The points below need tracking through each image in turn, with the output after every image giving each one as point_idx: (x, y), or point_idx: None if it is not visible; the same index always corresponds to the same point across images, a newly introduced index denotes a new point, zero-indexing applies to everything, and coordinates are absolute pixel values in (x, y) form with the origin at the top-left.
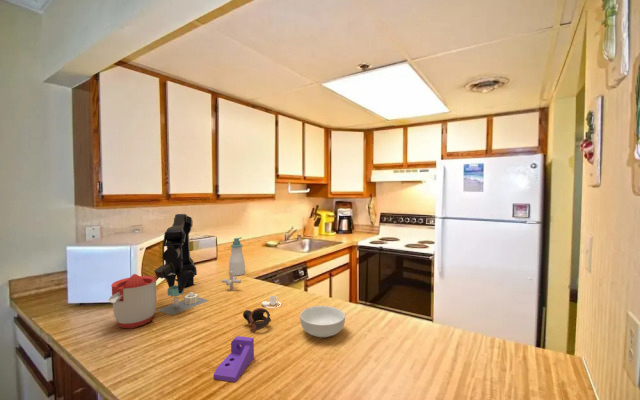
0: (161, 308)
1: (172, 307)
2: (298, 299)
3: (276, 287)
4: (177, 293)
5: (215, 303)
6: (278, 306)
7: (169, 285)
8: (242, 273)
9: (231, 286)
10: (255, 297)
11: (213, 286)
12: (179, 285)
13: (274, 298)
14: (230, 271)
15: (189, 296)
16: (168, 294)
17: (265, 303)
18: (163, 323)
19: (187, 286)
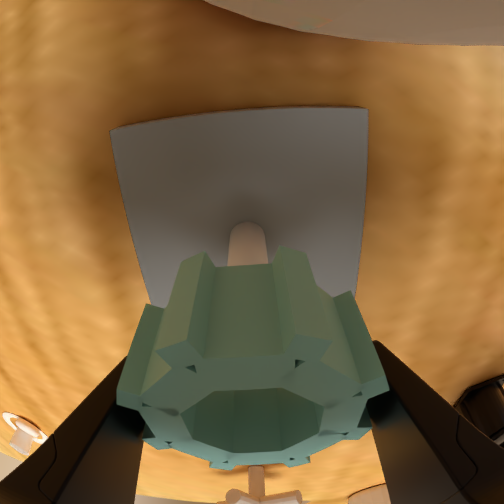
0: (358, 152)
1: (287, 222)
2: None
3: (154, 493)
4: (135, 338)
5: None
6: (6, 421)
7: (403, 404)
8: (348, 501)
9: (250, 483)
10: None
11: (368, 451)
12: (35, 453)
13: (10, 443)
14: (385, 495)
15: None
16: (282, 259)
17: (17, 425)
18: (79, 45)
19: (469, 399)
